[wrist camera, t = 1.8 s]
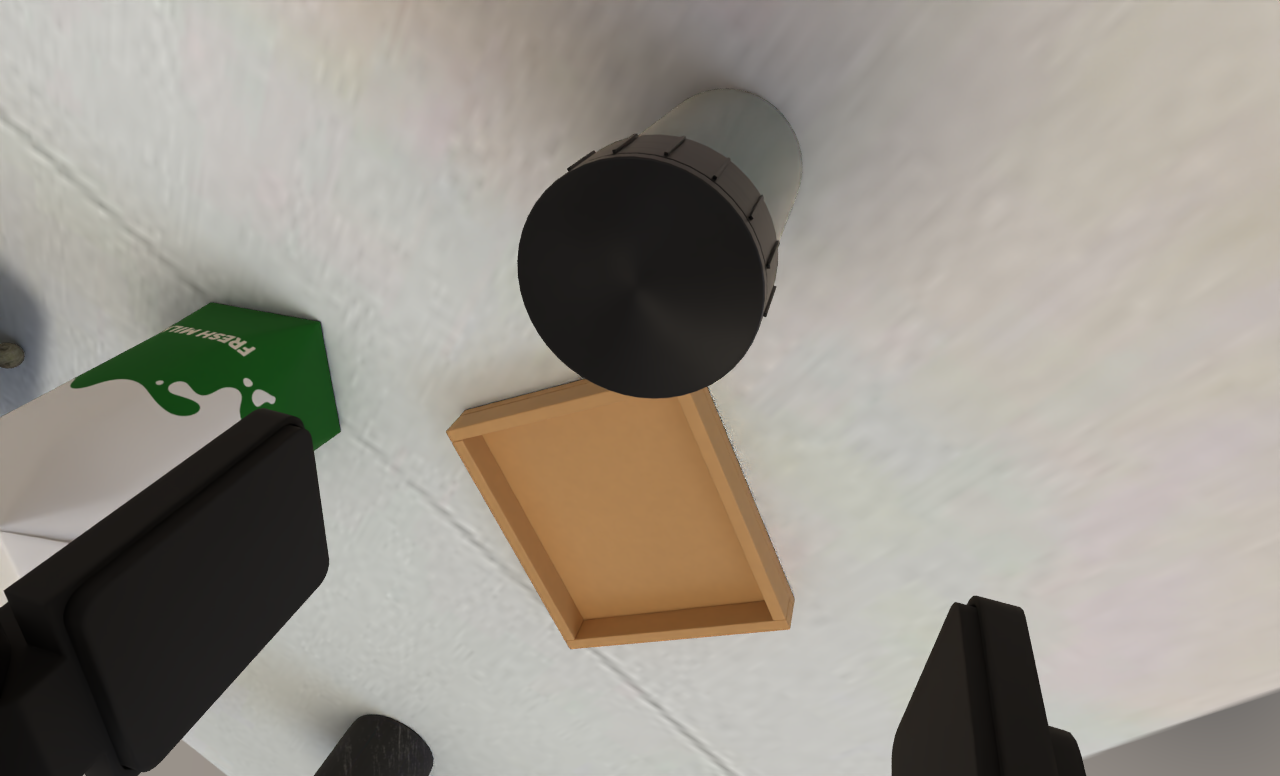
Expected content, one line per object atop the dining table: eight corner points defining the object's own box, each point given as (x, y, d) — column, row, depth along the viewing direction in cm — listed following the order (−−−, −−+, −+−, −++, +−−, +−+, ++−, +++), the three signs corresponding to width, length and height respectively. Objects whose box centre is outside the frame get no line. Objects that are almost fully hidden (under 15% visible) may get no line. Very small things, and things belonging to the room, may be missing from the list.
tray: (465, 410, 41) (445, 431, 39) (692, 350, 36) (681, 372, 34) (582, 622, 47) (569, 649, 45) (795, 599, 41) (790, 629, 39)
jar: (628, 122, 31) (497, 210, 21) (773, 62, 29) (705, 128, 18) (683, 260, 34) (589, 400, 23) (822, 216, 31) (786, 352, 21)
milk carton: (333, 307, 40) (-62, 562, 24) (357, 449, 45) (42, 746, 28) (193, 283, 42) (-263, 503, 26) (230, 421, 47) (-135, 684, 30)
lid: (515, 181, 23) (473, 207, 21) (730, 94, 20) (710, 112, 18) (607, 379, 25) (579, 421, 23) (810, 326, 23) (801, 369, 20)
